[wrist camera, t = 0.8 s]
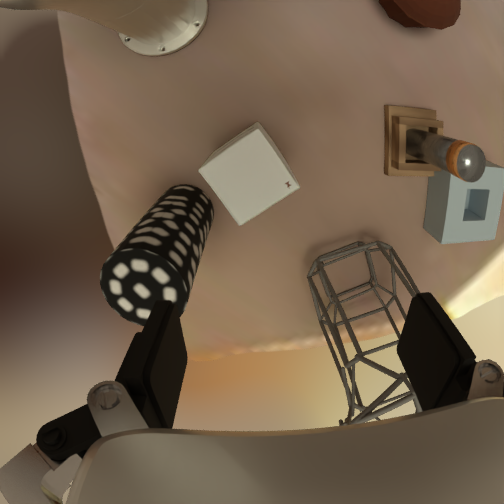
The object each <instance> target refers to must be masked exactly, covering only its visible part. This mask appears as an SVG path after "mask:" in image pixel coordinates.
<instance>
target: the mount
mask: <svg viewBox="0 0 504 504" xmlns="http://www.w3.org/2000/svg"><path fill="white" fill-rule="evenodd" d="M384 110H385V163H384V174H386V175H388V176H434V171H441V169H440V168H438V167H436V166H434V165H432V164H429V163H427V162H425V161H422V160H420V159H418V158H415V157H413V156H411V155H409V154H407V153H406V131H407V130H409V129H412V128H414V129H419V130H423V131H427V132H431V133H434V134H438V135H442V136H443V121H439V120H436V111H435V110H428V109H419V108H410V107H400V106H389V105H384Z"/></svg>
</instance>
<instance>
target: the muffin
mask: <svg viewBox="0 0 504 504" xmlns="http://www.w3.org/2000/svg"><path fill="white" fill-rule="evenodd" d="M379 3H380V4H381V5H382V7H383V8H384V9H385V11H386V12H387V14H388V16H389V18H391V19H393V20H395V21H397V22H399V23H400V24H402V25H403V26H404V27H420V28H421V27H430V28H436V29H441V30H442V29H444V28H447V27H450V26H453V25H454V24H455V22H456V20H457V19H458V17H459V15H460V10H461V1H460V0H379Z"/></svg>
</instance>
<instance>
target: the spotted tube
mask: <svg viewBox="0 0 504 504" xmlns="http://www.w3.org/2000/svg"><path fill="white" fill-rule="evenodd" d="M213 216H214V209H213V205H212V203H211V200H210V199H209V197H208V196H207V195H206V194H205V193H204V192H203V191H202V190H201V189H199V188H197V187H195V186H192V185H186V184H185V185H177V186H174V187H171V188H170V189H168V190H167V191H166V192H165V193H164V194H163V195H162V196H161V197H160V198H159V199H158V200H157V201H156V203H155V204H154V205H153V206H152V207H151V208H150V209H149V210H148V211H147V213H146V214H145V215H144V216H143V217H142V218H141V219H140V221H139V222H138V223H137V224H136V225H135V226H134V228H133V229H132V230H131V231H130V232H129V233H128V235H127V236H126V237H125V238H124V239H123V241H122V242H121V243H120V244H119V245H118V247H117V248H116V249H115V250H114V251H113V253H112V254H111V255H110V257H109V258H108V259H107V260H106V262H105V263H104V264H103V267H102V269H101V274H100V285H101V289H102V292H103V295H104V297H105V299H106V300H107V302H108V303H109V305H110V306H111V307H112V308H113V309H114V310H115V311H116V312H117V313H118V314H119V315H120V316H122V317H123V318H125V319H127V320H128V321H130V322H132V323H135V324H137V325H142V326H145V324H146V322H147V319H148V317H149V315H150V313H151V310H152V308H153V306H154V304H155V302H156V300H171V301H172V303H173V304H176V305H177V307H178V312H179V317H180V316H181V315H182V314H183V312H184V311H185V308H186V305H187V302H188V299H189V295H190V292H191V289H192V285H193V282H194V279H195V275H196V272H197V269H198V265H199V262H200V259H201V256H202V253H203V249H204V246H205V243H206V240H207V237H208V234H209V230H210V227H211V224H212V221H213Z"/></svg>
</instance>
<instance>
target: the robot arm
mask: <svg viewBox="0 0 504 504" xmlns="http://www.w3.org/2000/svg"><path fill="white" fill-rule="evenodd" d="M0 7H1V8H7V9H14V10H47V9H50V10H61V11H66V12H70V13H73V14H76V15H79V16H81V17H84V18H87V19H89V20H91V21H94V22H96V23H99V24H101V25H103V26H106V27H108V28H110V29H113V30H115V31H117V32H118V34H119V37H120V39H121V41H122V42H123V43H124V45H125V46H127V47H128V48H129V49H130V50H132V51H134V52H136V53H139V54H141V55H146V56H162V55H168V54H171V53H174V52H176V51H178V50H180V49H182V48H184V47H185V46H187V45H188V44H189V43H191V42H192V41H193V40H194V39H195V38H196V37H197V36H198V35H199V33H200V32H201V30H202V29H203V27H204V25H205V23H206V20H207V16H208V3H207V0H0ZM197 24H200V25H199V26H198V27H196V25H197ZM129 39H130V41H128V40H129ZM164 48H165V51H162V50H163V49H164ZM397 354H398V356H399V358H400V360H401V362H402V365H403V367H404V369H405V371H406V374H407V376H408V378H409V380H410V383H411V385H412V387H413V389H414V392H415V394H416V396H417V399H418V401H419V404H420V406H421V408H422V411H423V412H419V413H415V414H410V415H405V416H400V417H395V418H390V419H384V420H378V421H372V422H366V423H359V424H352V425H344V426H335V427H326V428H315V429H303V430H287V431H286V430H285V431H205V430H187V429H172V427H173V423H174V418H175V413H176V409H177V404H178V400H179V395H180V391H181V387H182V382H183V378H184V373H185V369H186V365H187V351H186V347H185V342H184V337H183V332H182V328H181V323H180V318H179V312H178V307H177V305H176V304H173V303H172V301H171V300H156V302H155V304H154V306H153V308H152V310H151V313H150V315H149V317H148V319H147V322H146V324H145V326H144V328H143V331H142V332H138V333H136V334H135V336H134V338H133V340H132V342H131V344H130V347H129V349H128V351H127V353H126V356H125V358H124V360H123V362H122V365H121V367H120V369H119V372H118V374H117V376H116V379H115V381H103V382H100V383H98V384H96V385H95V386H94V387H93V388H91V389H90V391H89V393H88V396H87V403H88V404H86V405H84V406H82V407H80V408H78V409H76V410H74V411H72V412H69V413H67V414H65V415H64V416H61V417H59V418H57V419H55V420H52V421H50V422H48V423H46V424H45V425H43V426H42V427H41V428H40V430H39V432H38V434H37V439H36V441H37V442H36V443H35V444H34V445H31V443H30V444H29V445H28V446H26V447H25V448H24V449H23V450H22V451H20V452H19V453H18V454H17V455H16V456H15V457H13V458H12V459H11V460H10V461H9V462H7V463H6V464H5V465H4V466H3V467H2V468H1V469H0V491H1V492H2V494H3V496H4V497H5V499H6V500H7V501H8V503H9V504H63V503H62V497H63V494H64V493H65V491H66V490H67V489H68V488H69V487H70V486H71V488H70V492H69V495H68V498H67V501H66V504H504V373H503V370H502V369H501V367H500V366H499V365H498V364H496V363H495V362H493V361H490V360H482V361H479V362H478V363H476V361H475V358H476V356H475V354H474V352H473V351H472V349H471V348H470V346H469V345H468V344H467V342H466V341H465V339H464V338H463V336H462V335H461V333H460V332H459V331H458V329H457V328H456V327H455V325H454V324H453V322H452V321H451V319H450V318H449V317H448V315H447V314H446V312H445V311H444V310H443V308H442V307H441V306H440V304H439V303H438V302H437V300H436V299H435V298H434V297H433V295H432V294H431V293H429V292H426V293H417V294H416V295H415V297H413V298H412V300H411V304H410V307H409V311H408V314H407V317H406V320H405V324H404V327H403V330H402V333H401V336H400V339H399V342H398V345H397ZM72 480H73V482H72V485H70V484H69V483H71V481H72Z"/></svg>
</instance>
